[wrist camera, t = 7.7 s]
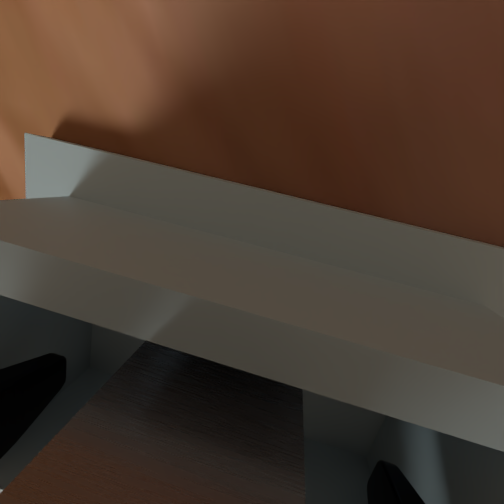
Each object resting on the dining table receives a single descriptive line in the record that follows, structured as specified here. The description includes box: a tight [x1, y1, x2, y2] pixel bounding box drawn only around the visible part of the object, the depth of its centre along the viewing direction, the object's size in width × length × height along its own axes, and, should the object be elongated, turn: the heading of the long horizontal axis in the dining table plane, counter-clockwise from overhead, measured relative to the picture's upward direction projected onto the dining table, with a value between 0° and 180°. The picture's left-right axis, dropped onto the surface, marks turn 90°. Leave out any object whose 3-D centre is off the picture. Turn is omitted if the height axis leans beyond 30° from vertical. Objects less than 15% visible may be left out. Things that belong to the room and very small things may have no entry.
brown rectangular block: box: [0, 341, 306, 504], centre depth 7 cm, size 4×4×7 cm
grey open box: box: [0, 133, 504, 504], centre depth 8 cm, size 18×12×6 cm, turn 77°
